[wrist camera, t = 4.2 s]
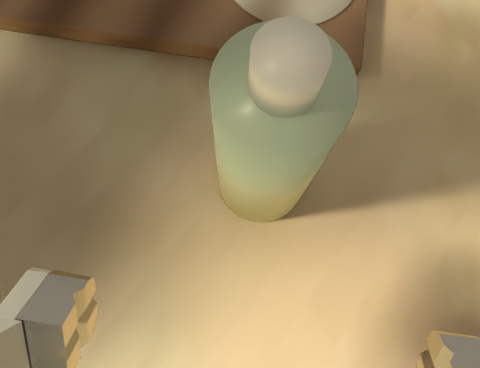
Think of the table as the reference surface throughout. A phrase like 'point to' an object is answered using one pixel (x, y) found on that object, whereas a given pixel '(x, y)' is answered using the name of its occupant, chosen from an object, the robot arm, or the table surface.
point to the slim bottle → (277, 112)
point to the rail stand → (180, 22)
